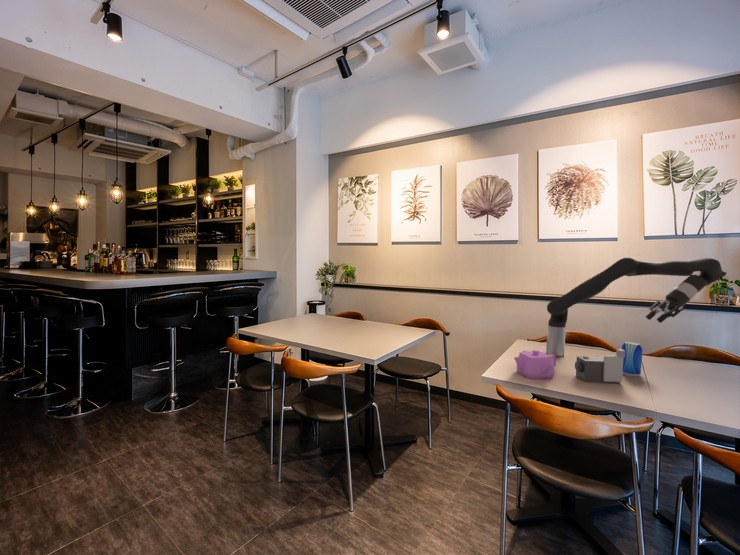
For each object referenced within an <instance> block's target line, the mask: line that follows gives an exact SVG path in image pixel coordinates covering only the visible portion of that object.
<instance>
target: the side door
mask: <svg viewBox="0 0 740 555" xmlns="http://www.w3.org/2000/svg"><path fill="white" fill-rule="evenodd" d="M615 352H616V353H615V354H616V355H603V357H604V368H603V381H607V382H620V383H622V382H623V357H625V351H624V350H622V349H621V348H616V350H615Z"/></svg>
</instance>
